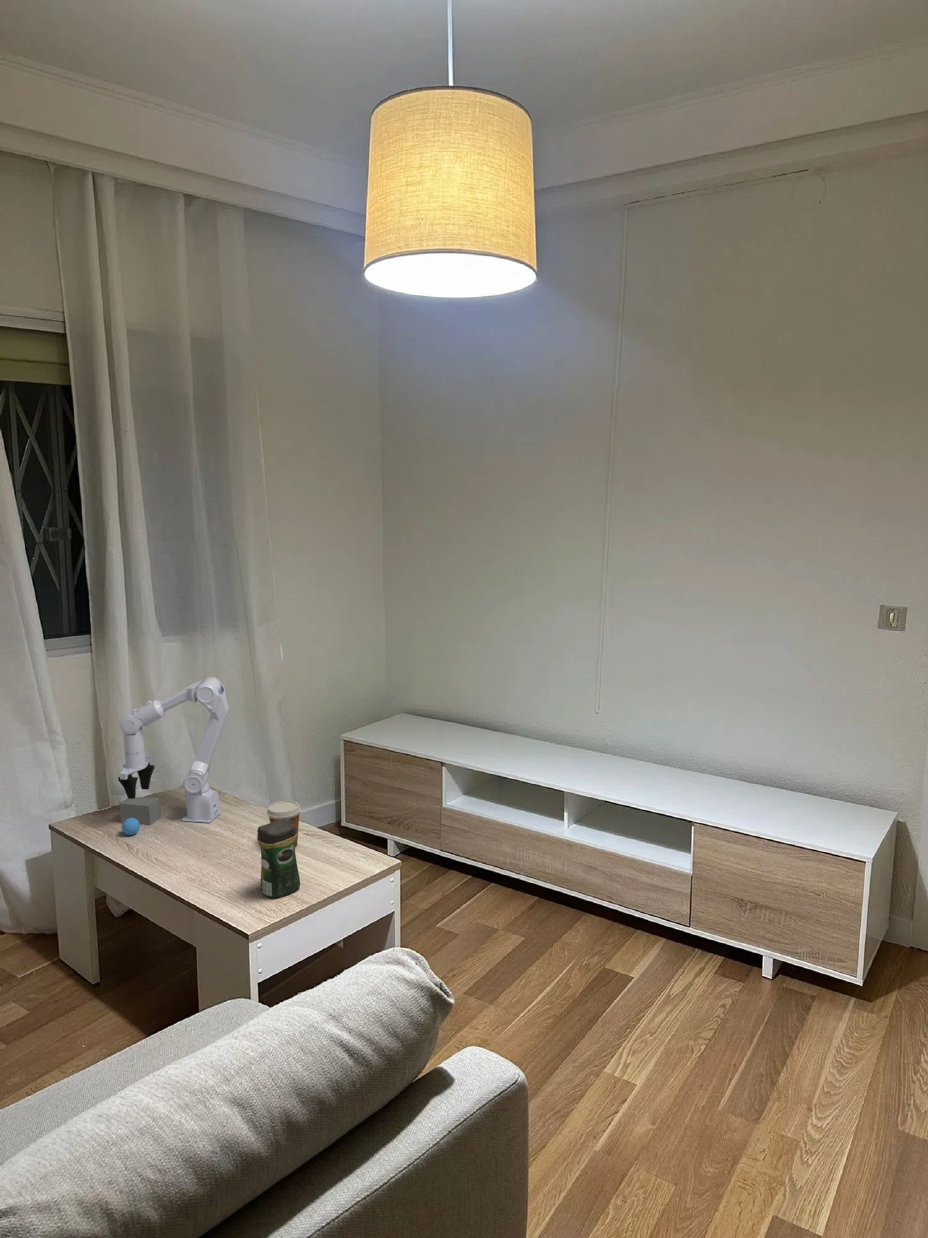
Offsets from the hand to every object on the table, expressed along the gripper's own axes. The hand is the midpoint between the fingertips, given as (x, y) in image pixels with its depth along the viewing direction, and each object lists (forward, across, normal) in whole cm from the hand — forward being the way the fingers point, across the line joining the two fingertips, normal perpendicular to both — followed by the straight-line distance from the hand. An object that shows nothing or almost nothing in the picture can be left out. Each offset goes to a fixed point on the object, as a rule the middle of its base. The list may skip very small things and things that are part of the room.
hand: (138, 793), depth 274 cm
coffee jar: (+9, +35, +61) cm, 71 cm away
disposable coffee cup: (+9, +10, +52) cm, 54 cm away
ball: (+6, +10, +3) cm, 12 cm away
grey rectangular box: (+9, 0, 0) cm, 9 cm away
